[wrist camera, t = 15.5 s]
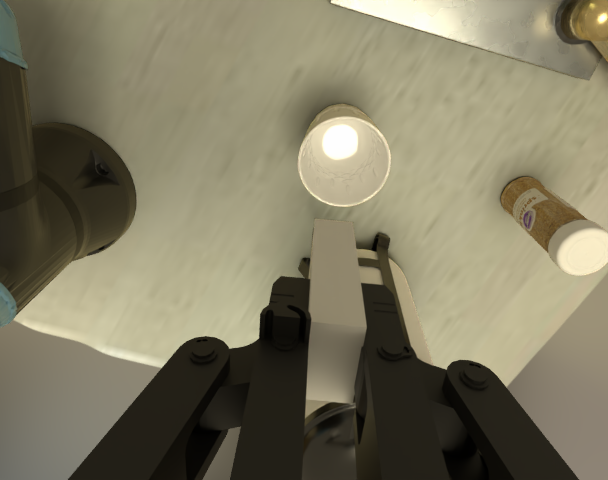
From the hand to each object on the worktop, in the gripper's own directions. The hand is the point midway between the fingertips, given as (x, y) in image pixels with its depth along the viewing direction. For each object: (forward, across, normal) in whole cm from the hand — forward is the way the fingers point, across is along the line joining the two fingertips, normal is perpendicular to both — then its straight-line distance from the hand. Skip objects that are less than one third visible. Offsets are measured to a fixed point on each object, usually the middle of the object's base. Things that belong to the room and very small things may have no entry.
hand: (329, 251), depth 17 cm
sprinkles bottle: (+31, +22, -7) cm, 38 cm away
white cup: (+31, +2, -2) cm, 31 cm away
